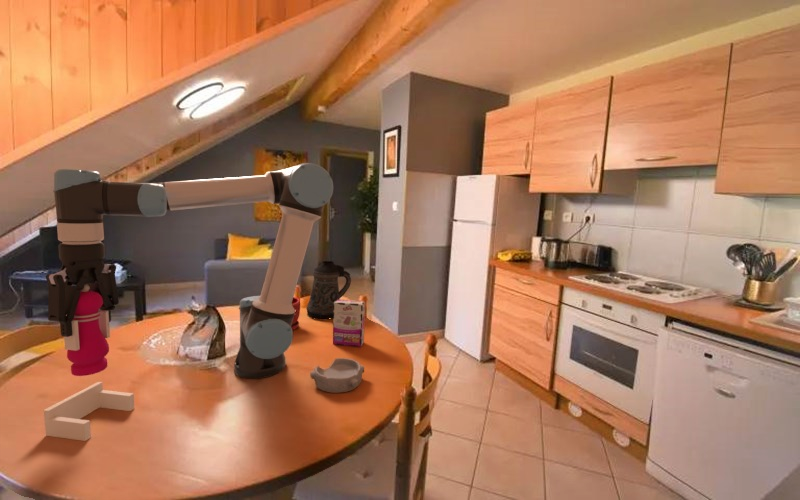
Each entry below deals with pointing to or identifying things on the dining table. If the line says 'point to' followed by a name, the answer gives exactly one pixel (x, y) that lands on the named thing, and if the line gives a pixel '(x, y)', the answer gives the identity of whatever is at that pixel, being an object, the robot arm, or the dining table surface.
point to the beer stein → (326, 290)
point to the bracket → (83, 411)
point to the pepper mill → (89, 336)
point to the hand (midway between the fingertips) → (88, 342)
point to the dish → (338, 376)
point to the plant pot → (297, 307)
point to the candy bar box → (348, 322)
